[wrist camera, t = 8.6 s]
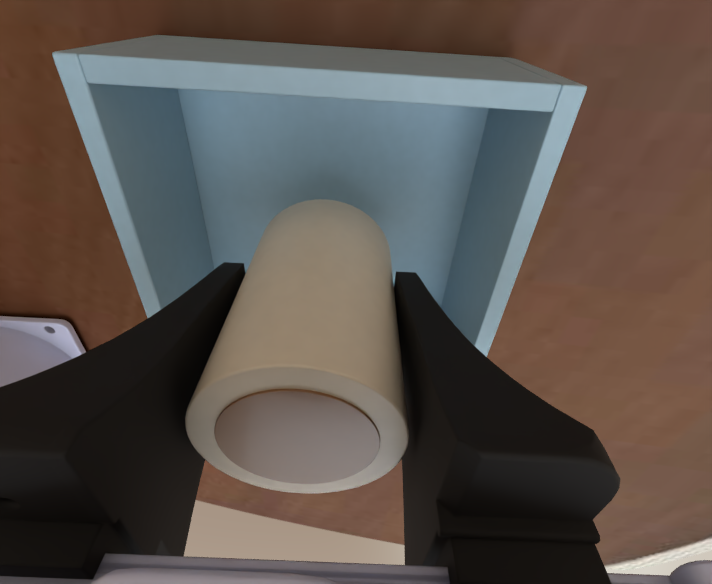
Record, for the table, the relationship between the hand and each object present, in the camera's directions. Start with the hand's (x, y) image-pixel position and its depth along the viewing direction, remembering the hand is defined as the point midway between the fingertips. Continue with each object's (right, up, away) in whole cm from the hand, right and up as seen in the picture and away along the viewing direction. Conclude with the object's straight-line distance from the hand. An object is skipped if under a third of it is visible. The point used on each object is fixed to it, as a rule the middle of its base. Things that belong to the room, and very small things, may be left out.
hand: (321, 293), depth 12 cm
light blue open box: (0, +4, +5) cm, 6 cm away
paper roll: (0, +1, +2) cm, 2 cm away
